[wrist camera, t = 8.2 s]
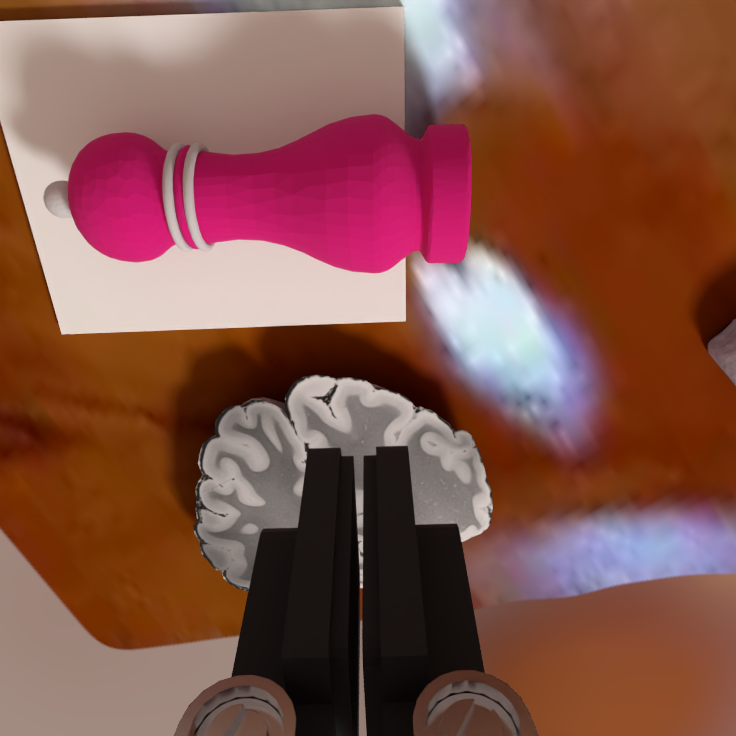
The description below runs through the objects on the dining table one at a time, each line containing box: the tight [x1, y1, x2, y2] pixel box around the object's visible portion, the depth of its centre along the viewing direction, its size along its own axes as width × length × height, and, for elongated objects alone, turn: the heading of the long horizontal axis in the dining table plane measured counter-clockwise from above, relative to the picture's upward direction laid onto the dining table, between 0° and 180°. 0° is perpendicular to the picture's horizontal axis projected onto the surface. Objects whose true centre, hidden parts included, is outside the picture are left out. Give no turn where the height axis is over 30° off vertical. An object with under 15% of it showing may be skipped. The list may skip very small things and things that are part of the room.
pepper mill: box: [43, 114, 472, 274], centre depth 31 cm, size 7×7×20 cm
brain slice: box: [193, 375, 493, 592], centre depth 42 cm, size 20×17×3 cm
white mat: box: [0, 6, 406, 334], centre depth 34 cm, size 16×20×1 cm
